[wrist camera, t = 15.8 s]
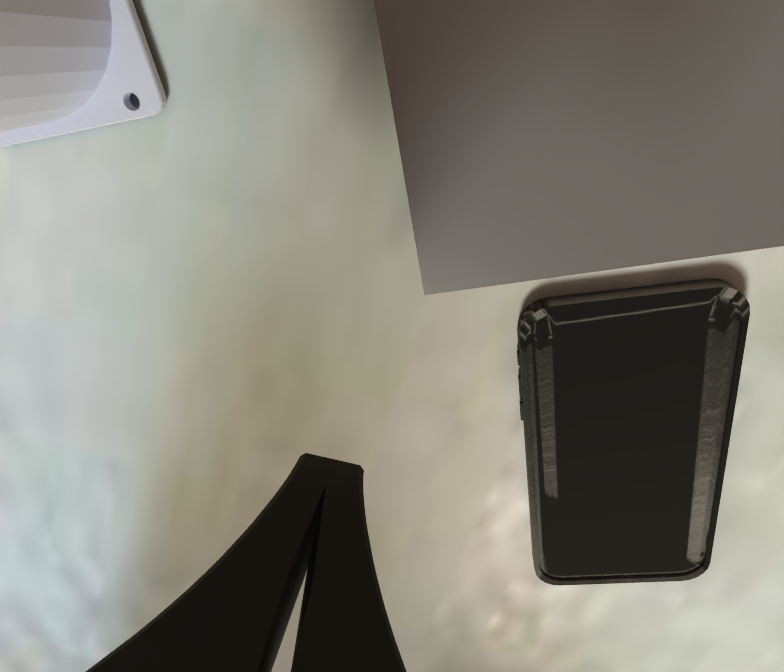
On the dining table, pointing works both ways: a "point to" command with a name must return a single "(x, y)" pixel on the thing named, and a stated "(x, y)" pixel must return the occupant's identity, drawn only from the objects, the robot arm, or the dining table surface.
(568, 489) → the phone
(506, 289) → the dining table surface
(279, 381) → the dining table surface
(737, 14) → the grey drawer box
